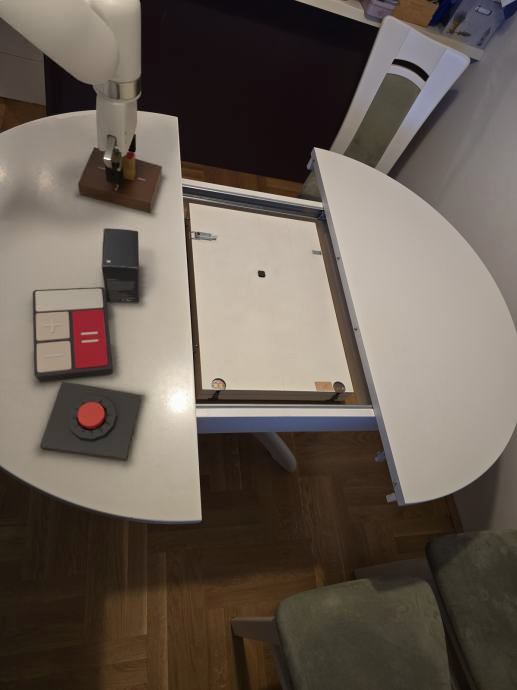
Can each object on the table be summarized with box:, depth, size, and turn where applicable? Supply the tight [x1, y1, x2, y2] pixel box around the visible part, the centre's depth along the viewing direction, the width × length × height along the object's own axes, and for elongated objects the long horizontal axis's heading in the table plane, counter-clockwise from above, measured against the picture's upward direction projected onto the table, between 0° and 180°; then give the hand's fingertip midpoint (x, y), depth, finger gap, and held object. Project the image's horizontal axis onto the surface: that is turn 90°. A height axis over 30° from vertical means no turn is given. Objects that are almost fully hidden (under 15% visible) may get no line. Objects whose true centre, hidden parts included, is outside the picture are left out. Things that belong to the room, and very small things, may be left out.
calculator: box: [32, 286, 114, 383], centre depth 64 cm, size 11×4×15 cm
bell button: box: [77, 402, 105, 429], centre depth 57 cm, size 4×4×2 cm
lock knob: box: [113, 147, 136, 181], centre depth 77 cm, size 5×2×5 cm, turn 85°
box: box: [101, 227, 140, 304], centre depth 67 cm, size 8×6×11 cm
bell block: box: [39, 381, 142, 462], centre depth 59 cm, size 12×10×4 cm
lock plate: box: [77, 146, 163, 214], centre depth 81 cm, size 14×11×3 cm
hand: (121, 166), depth 78 cm, fingers open, 9 cm apart
